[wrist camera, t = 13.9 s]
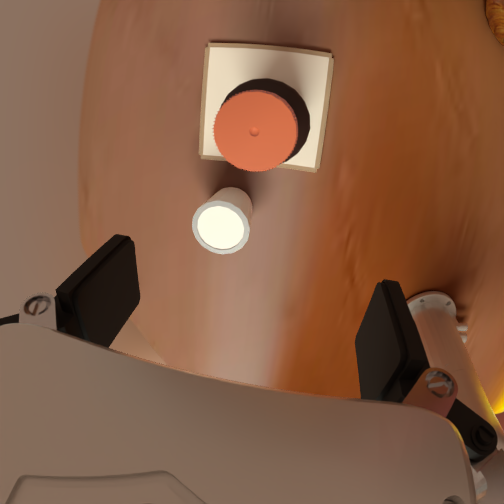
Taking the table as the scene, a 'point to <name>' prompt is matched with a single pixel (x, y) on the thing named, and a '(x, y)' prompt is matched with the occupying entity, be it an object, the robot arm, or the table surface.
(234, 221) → the short white cylinder
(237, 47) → the plate
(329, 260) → the table surface
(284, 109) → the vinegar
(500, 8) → the croissant
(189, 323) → the table surface
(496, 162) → the table surface
